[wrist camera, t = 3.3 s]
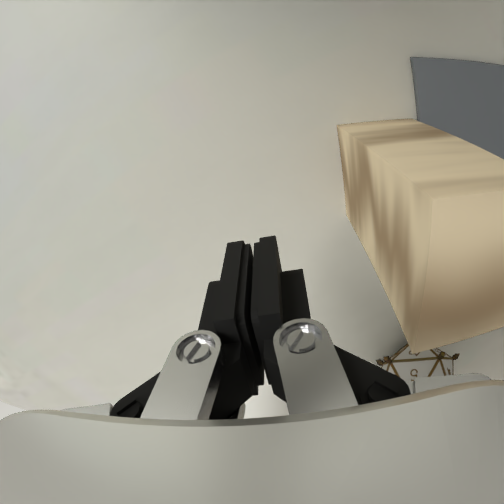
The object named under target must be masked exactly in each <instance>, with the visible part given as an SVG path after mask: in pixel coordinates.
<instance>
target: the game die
mask: <svg viewBox="0 0 504 504" xmlns="http://www.w3.org/2000/svg"><path fill="white" fill-rule="evenodd" d="M458 356H459V354H455V355H453V357H451V356H449V355H447V354H446V353H445V352H442V351H441V350H439V349H437V348H434V349H430V350H426V351H422V352H418V353H414V354H412V352H411V349H410V347H409V345H408V344H407V345H405V346H404V347H403V348H402V349H400V350H399V351H398V352H397V353H395V354H394V355H393V356H392V357H390V358H389V356H386V357H384V361H385V362H383V361H381V360H376V361H377V364H378V365H382V369H384V370H386V371H388V372H391V373H393V374H395V375H397V376H398V377H400V378H401V379H403V380H404V381H414V378H415V377H432V376H447V375H453V360H456V359H458Z"/></svg>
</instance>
